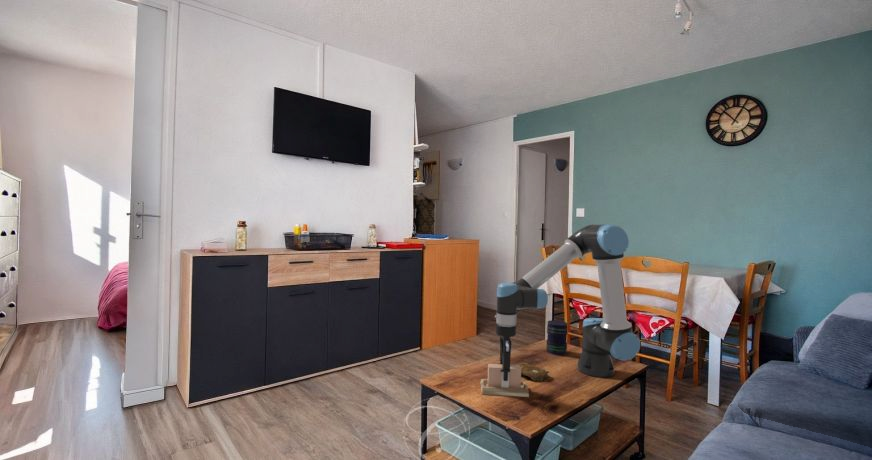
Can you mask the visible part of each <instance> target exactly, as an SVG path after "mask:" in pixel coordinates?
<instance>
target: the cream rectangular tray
mask: <svg viewBox="0 0 872 460" xmlns="http://www.w3.org/2000/svg"><path fill="white" fill-rule="evenodd" d="M487 383H488V378H481V379H480V388H481V395H486V396H487V395H488V396H504V397H505V396H507V397H519V398H520V397H522V398H523V397H524V398H529V397H530V393H529V392H530V391H529V388H528V385H527V383H526V381H525V380H521V388H505V387H488V385H487Z"/></svg>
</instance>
